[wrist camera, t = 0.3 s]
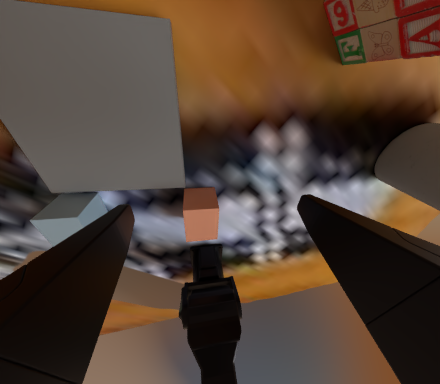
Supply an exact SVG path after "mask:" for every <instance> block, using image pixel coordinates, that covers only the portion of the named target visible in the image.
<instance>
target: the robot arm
mask: <svg viewBox="0 0 440 384" xmlns="http://www.w3.org/2000/svg"><path fill="white" fill-rule="evenodd" d="M297 210H298V212H299V214H300V216H301V219H302V221H303V223H304V225H305V227H306V229H307V231H308V233H309V234H310V236H311V238H312V240H313V241H314V243H315V244H316V246H317V248H318V249H319V251H320V253H321V254H322V256H323V257H324V259H325V261H326V262H327V264H328V265H329V267H330V269H331V270H332V272H333V274H334V275H335V277H336V278H337V280H338V282H339V283H340V285H341V286H342V288H343V290H344V291H345V293H346V295H347V296H348V298H349V300H350V301H351V303H352V304H353V306H354V308H355V309H356V311H357V313H358V314H359V316H360V317H361V319H362V321H363V322H364V324H365V326H366V327H367V329H368V331H369V332H370V334H371V336H372V337H373V339H374V340H375V342H376V344H377V345H378V347H379V349H380V350H381V352H382V353H383V355H384V357H385V358H386V360H387V362H388V363H389V365H390V366H391V368H392V370H393V371H394V373H395V375H396V376H397V378H398V379H399V381H400V383H401V384H440V246H438V245H435V244H433V243H430V242H427V241H425V240H422V239H419V238H417V237H415V236H412V235H409V234H407V233H404V232H402V231H399V230H397V229H395V228H391V227H389V226H387V225H385V224H382V223H380V222H377V221H375V220H372V219H370V218H367V217H365V216H362V215H360V214H357V213H355V212H352V211H350V210H347V209H345V208H343V207H340V206H338V205H335V204H333V203H330V202H328V201H325V200H323V199H320V198H318V197H315V196H313V195H310V194H308V195H302V196H301V198H300V201H299V203H298V206H297ZM134 222H135V218H134V215H133V212H132V209H131V206H130V205H129V204H123V205H118V206H117V207H115V208H113V209H112V210H110V211H109V212H107V213H106V214H104V215H102V216H101V217H99V218H98V219H96V220H95V221H93V222H91V223H90V224H88V225H87V226H85V227H84V228H82V229H80V230H79V231H77V232H76V233H74V234H73V235H71V236H69V237H68V238H66V239H65V240H63V241H62V242H60V243H58V244H57V245H55V246H54V247H52V248H51V249H49V250H47V251H46V252H44V253H43V254H41V255H40V256H38V257H36V258H35V259H33V260H32V261H30V262H29V263H28V264H27V265H24V266H22V267H21V268H19V269H17V270H16V271H14V272H13V273H11V274H10V275H8V276H6V277H5V278H3V279H2V280H0V384H82V383H83V380H84V377H85V374H86V371H87V368H88V366H89V363H90V360H91V357H92V354H93V351H94V348H95V345H96V343H97V340H98V337H99V334H100V331H101V328H102V325H103V322H104V319H105V317H106V314H107V311H108V308H109V305H110V302H111V299H112V296H113V294H114V291H115V288H116V285H117V282H118V279H119V276H120V273H121V270H122V267H123V265H124V262H125V259H126V256H127V253H128V249H129V245H130V240H131V236H132V231H133V227H134ZM222 248H223V247H222V245H221V244H220V245H210V246H200V247H191V248H190V254H191V264H192V267H193V282H191V283H188V282H187V283H185V286H184V287H183V288H182V294H181V303H180V310H179V318H180V319H181V320H182V324H183V329H187V335H188V336H187V339H188V343H189V346H190V348H191V350H192V352H193V354H194V356H195V358H196V360H197V363H198V365H199V367H200V369H201V383H202V384H237V379H236V372H235V366H234V362H235V357H236V353H237V349H238V344H239V340H240V335H241V325H240V319H241V318H242V310H241V303H240V299H239V295H238V292H237V289H236V285H235V282H234V279H233V276H230V277H227V278H224V275H223V269H222V264H221V259H222Z"/></svg>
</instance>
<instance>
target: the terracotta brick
mask: <svg viewBox="0 0 440 384" xmlns="http://www.w3.org/2000/svg"><path fill="white" fill-rule="evenodd" d="M183 216H184V224H185V233H186V241H187V242H191V241H202V240H212V239H217V236H218V220H219V205H218V201H217V196H216V192H215V188H214V187H211V188H188V189H184V202H183Z"/></svg>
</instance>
